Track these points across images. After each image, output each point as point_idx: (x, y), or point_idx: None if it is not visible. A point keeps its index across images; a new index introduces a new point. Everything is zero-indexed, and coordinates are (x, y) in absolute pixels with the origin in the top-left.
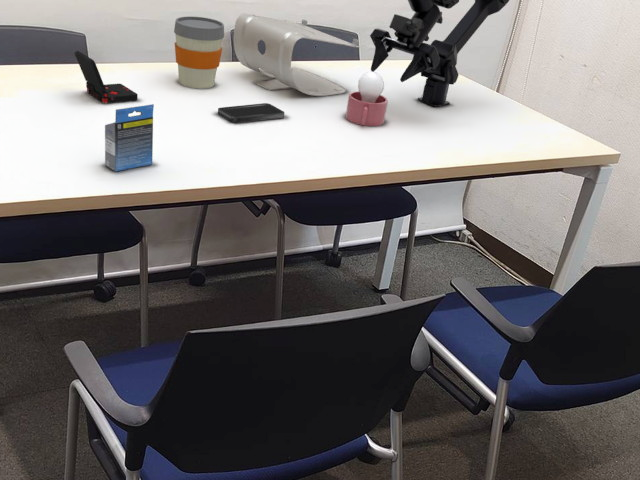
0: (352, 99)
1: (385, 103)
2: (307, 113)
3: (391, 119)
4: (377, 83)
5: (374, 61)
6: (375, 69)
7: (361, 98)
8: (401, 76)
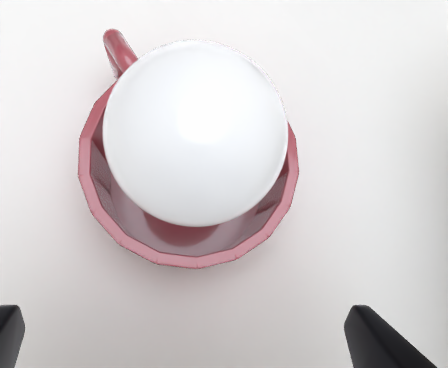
0: None
1: (79, 169)
2: (341, 52)
3: (120, 303)
4: (118, 80)
5: (412, 365)
6: (353, 361)
7: (265, 214)
8: (2, 324)
